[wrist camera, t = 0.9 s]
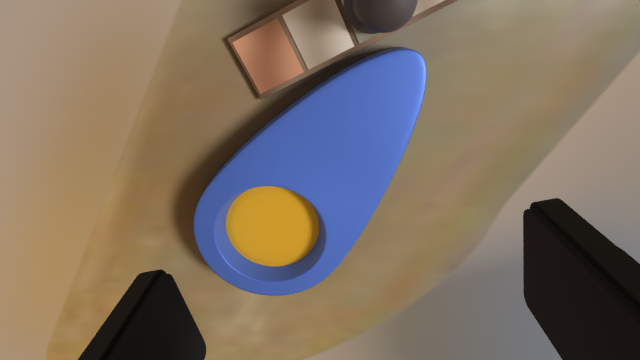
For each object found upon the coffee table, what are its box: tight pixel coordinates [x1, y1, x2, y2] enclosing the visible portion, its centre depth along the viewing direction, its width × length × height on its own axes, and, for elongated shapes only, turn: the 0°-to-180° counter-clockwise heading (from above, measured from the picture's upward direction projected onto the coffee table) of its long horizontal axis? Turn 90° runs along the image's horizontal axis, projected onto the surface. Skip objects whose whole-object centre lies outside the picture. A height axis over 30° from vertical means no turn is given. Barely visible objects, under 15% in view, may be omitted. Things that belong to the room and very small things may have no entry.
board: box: [228, 0, 457, 99], centre depth 27 cm, size 17×5×1 cm, turn 116°
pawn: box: [344, 0, 418, 34], centre depth 23 cm, size 4×4×8 cm
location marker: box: [193, 47, 427, 296], centre depth 31 cm, size 13×3×25 cm
